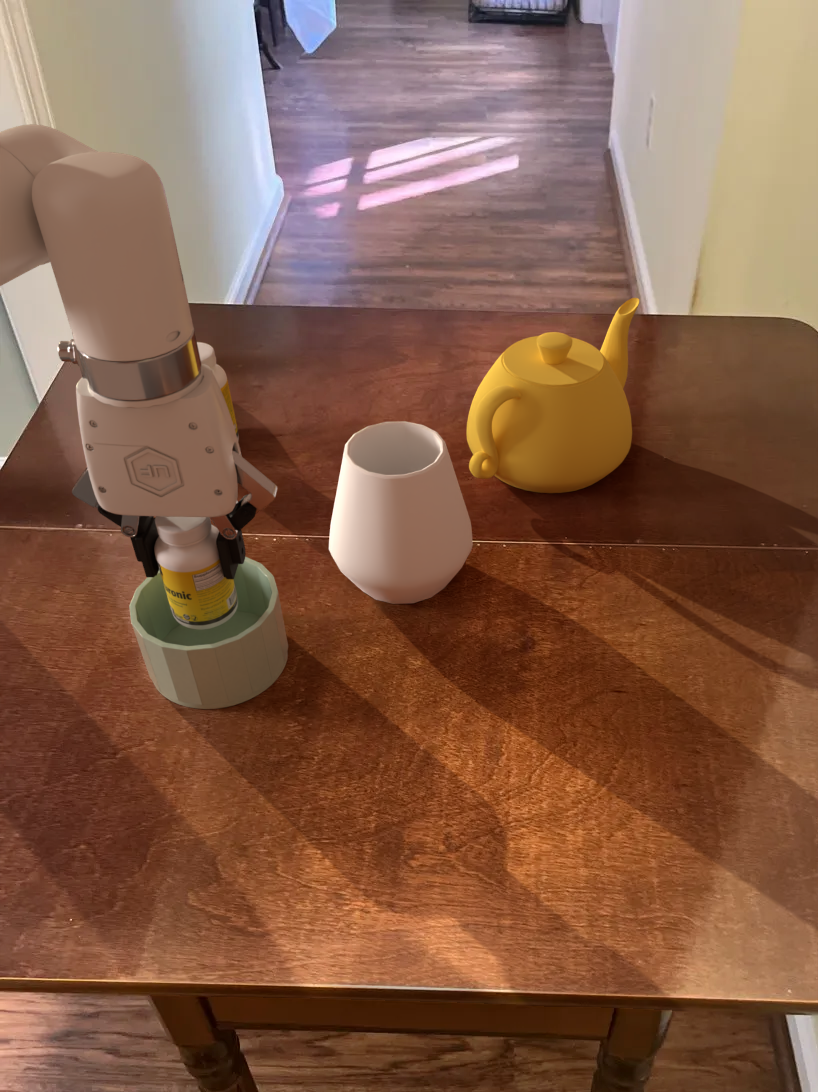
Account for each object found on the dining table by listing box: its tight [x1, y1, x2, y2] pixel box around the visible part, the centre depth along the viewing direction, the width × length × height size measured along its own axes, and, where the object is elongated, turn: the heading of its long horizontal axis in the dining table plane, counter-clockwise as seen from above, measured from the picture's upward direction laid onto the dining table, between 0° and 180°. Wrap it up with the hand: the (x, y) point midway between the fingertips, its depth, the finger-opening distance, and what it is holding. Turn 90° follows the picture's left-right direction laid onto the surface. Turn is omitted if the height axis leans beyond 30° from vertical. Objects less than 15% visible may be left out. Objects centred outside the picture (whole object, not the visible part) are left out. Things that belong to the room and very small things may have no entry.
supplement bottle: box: [154, 516, 238, 630], centre depth 78 cm, size 5×5×10 cm
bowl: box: [128, 556, 289, 710], centre depth 83 cm, size 12×12×7 cm
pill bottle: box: [197, 341, 240, 441], centre depth 105 cm, size 6×6×11 cm
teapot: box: [465, 297, 640, 494], centre depth 104 cm, size 25×18×14 cm
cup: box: [328, 420, 474, 605], centre depth 89 cm, size 13×13×14 cm
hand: (194, 565), depth 78 cm, fingers closed on supplement bottle, 5 cm apart
